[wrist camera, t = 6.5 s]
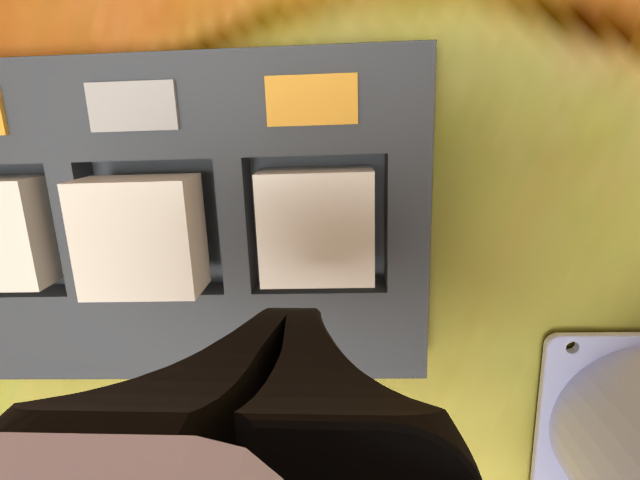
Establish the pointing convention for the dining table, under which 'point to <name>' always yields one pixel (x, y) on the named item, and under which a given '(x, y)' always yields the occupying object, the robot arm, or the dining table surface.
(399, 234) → the button board
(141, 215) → the button middle
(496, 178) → the dining table surface
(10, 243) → the button far
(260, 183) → the button near
